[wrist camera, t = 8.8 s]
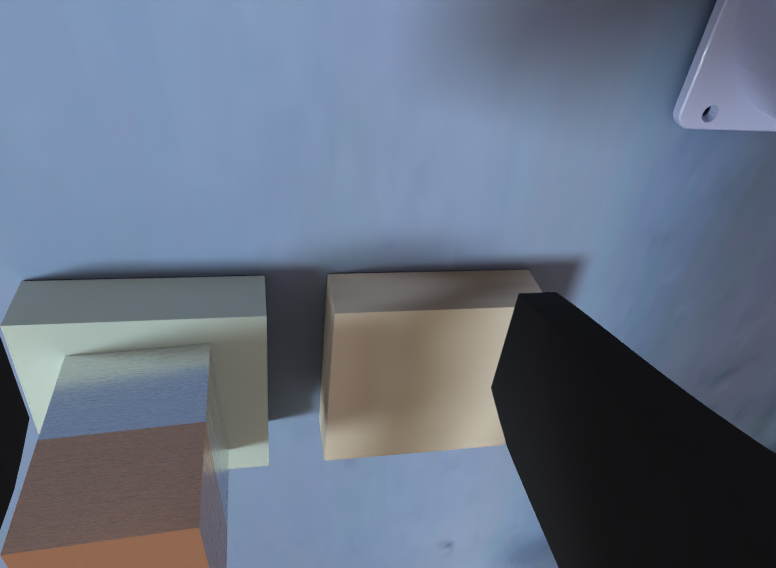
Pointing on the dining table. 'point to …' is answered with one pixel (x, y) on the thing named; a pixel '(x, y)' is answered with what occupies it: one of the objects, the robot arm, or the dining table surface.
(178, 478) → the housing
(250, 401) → the stand
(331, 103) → the dining table surface
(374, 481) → the dining table surface
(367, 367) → the stand
